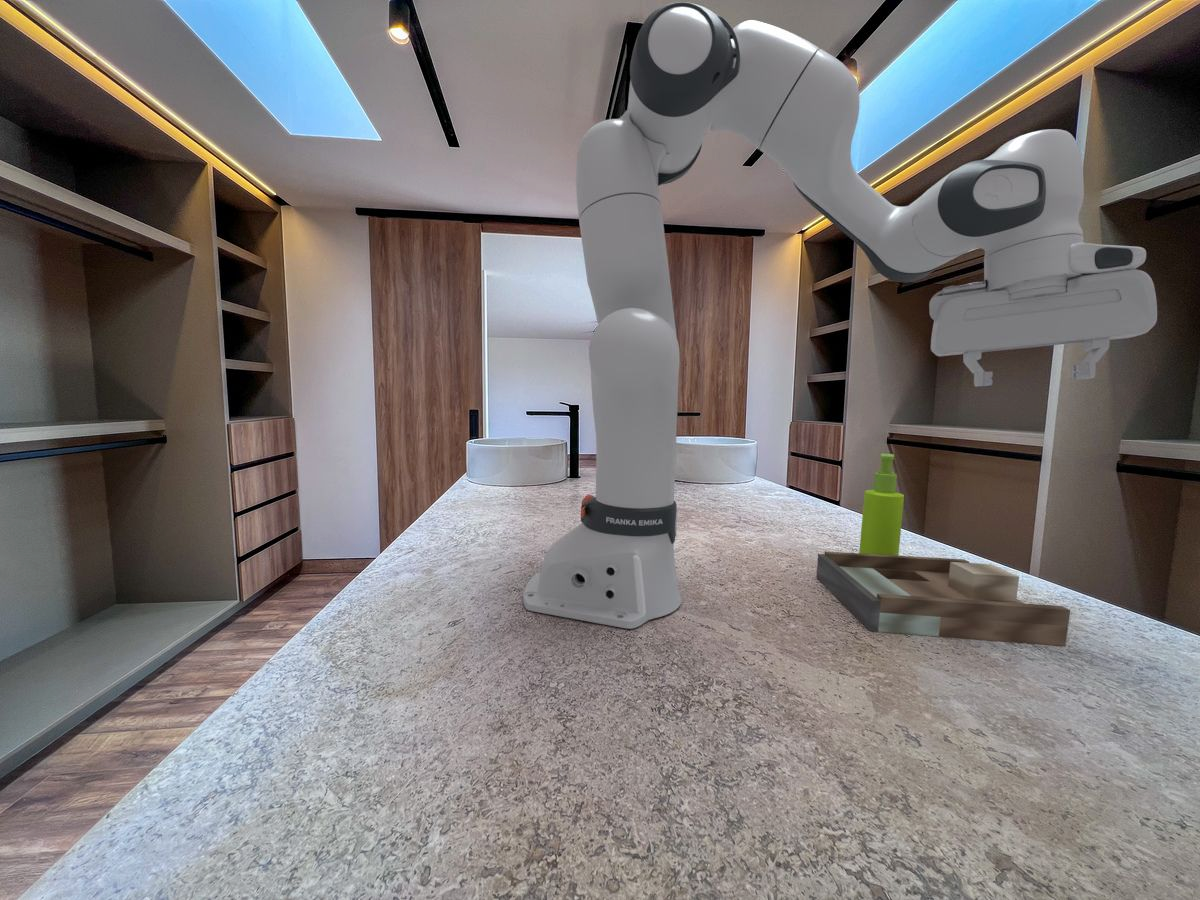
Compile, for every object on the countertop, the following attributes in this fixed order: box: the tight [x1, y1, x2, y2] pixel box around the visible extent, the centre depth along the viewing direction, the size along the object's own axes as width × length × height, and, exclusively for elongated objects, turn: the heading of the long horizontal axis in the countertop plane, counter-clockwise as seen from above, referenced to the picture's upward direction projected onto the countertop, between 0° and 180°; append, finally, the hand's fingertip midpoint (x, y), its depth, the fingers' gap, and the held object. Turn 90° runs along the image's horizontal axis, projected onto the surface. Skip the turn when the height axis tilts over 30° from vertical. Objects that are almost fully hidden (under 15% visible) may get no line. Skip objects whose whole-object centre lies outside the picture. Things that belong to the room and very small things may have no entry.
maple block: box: [948, 562, 1020, 602], centre depth 59 cm, size 6×4×4 cm
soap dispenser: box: [858, 453, 905, 556], centre depth 76 cm, size 6×7×20 cm
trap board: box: [815, 551, 1071, 647], centre depth 60 cm, size 22×17×4 cm
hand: (1031, 382), depth 54 cm, fingers open, 8 cm apart
